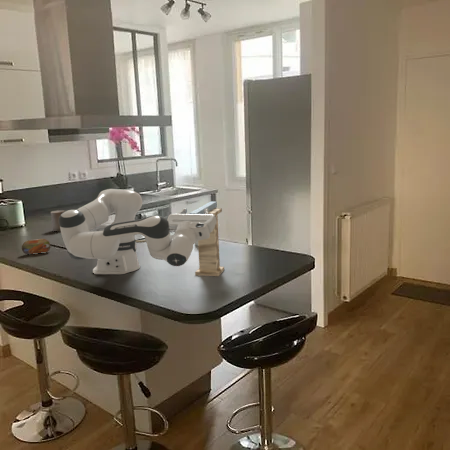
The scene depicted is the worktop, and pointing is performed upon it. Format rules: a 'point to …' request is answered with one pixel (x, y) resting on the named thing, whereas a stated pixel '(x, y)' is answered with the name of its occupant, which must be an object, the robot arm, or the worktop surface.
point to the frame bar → (208, 206)
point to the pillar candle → (56, 219)
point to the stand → (210, 251)
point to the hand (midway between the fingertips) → (195, 209)
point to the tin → (36, 246)
